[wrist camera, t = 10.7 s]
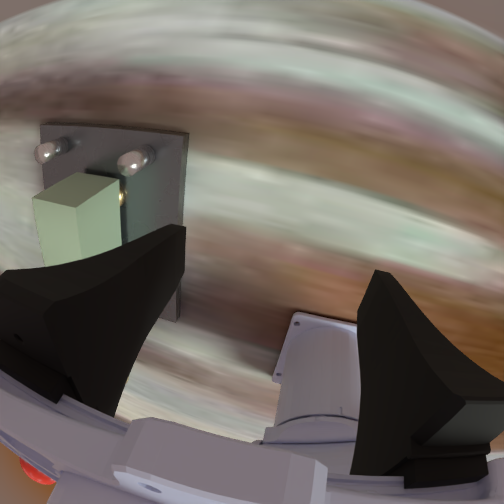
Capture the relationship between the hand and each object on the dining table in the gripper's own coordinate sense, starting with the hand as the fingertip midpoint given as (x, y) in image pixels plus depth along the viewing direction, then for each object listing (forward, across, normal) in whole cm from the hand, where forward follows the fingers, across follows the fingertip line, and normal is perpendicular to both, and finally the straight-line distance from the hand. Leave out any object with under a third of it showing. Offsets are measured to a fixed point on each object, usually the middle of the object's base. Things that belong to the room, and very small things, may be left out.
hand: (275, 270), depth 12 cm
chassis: (+10, +14, +6) cm, 18 cm away
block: (+8, +14, +6) cm, 17 cm away
